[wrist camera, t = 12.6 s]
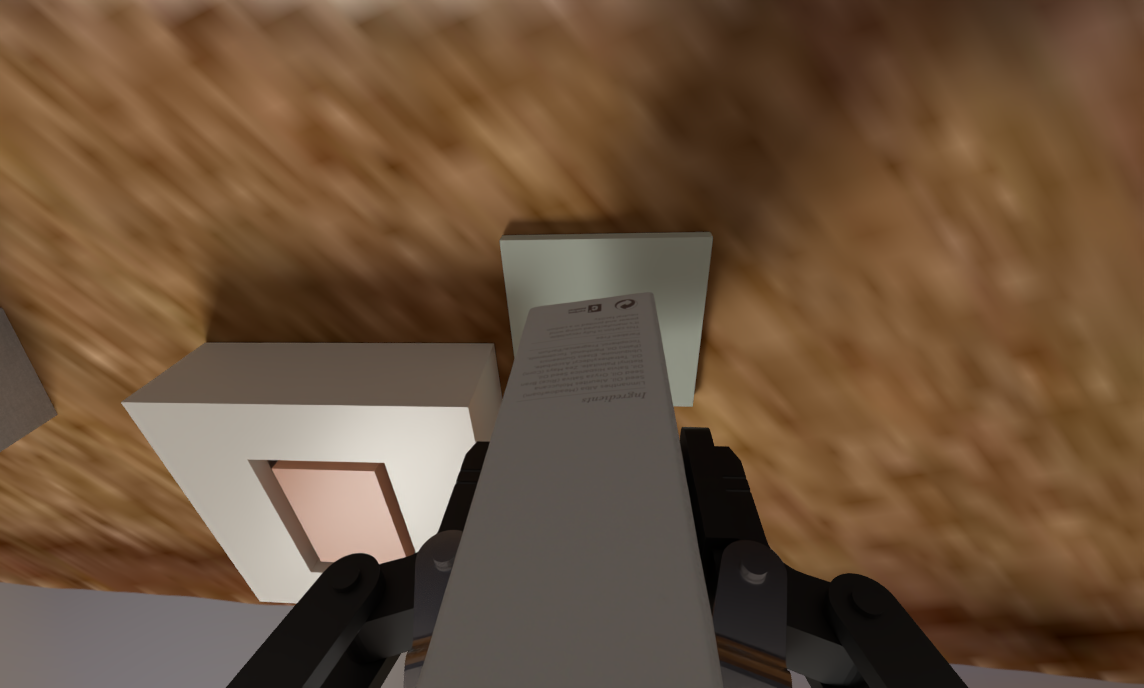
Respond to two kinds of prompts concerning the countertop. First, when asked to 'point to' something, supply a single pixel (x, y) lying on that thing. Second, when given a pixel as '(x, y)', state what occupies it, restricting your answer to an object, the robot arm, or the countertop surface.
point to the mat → (617, 284)
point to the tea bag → (19, 390)
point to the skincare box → (580, 521)
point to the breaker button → (346, 508)
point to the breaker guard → (314, 436)
